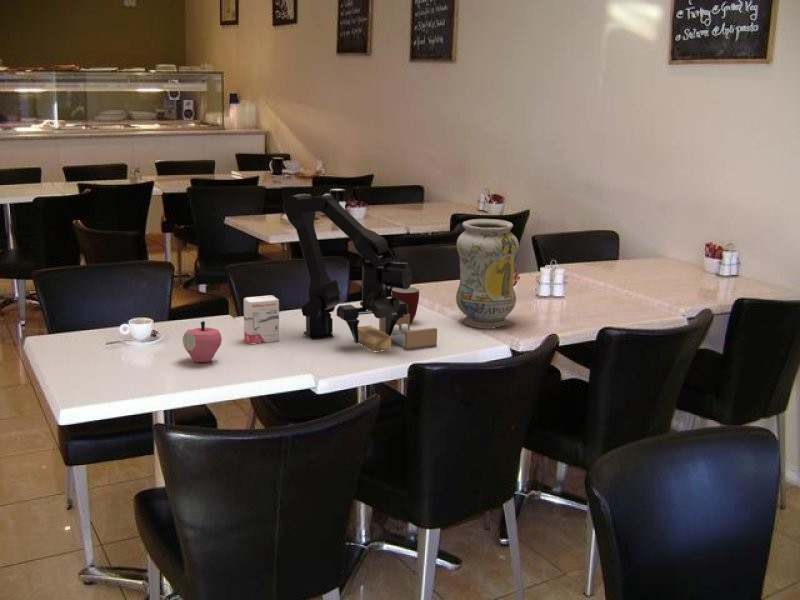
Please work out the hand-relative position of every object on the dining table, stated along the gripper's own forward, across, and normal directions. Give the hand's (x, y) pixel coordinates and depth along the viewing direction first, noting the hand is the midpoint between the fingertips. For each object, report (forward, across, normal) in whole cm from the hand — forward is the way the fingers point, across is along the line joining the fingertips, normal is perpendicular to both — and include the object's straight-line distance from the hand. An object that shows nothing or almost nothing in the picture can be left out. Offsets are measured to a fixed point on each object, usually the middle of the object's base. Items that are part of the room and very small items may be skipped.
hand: (372, 341), depth 241 cm
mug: (+1, +17, +17) cm, 24 cm away
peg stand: (+1, +11, +1) cm, 11 cm away
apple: (+1, -45, +3) cm, 45 cm away
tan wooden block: (+2, 0, 0) cm, 2 cm away
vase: (+1, +40, +8) cm, 41 cm away
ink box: (+1, -26, +15) cm, 30 cm away
